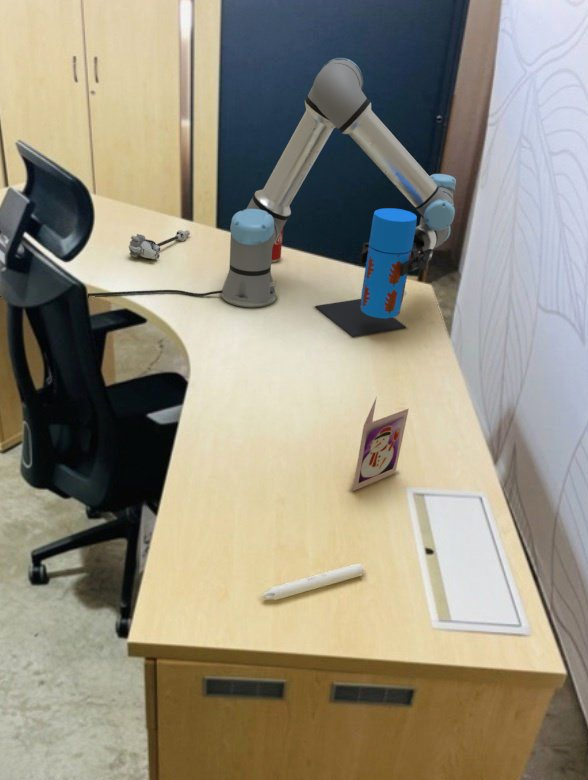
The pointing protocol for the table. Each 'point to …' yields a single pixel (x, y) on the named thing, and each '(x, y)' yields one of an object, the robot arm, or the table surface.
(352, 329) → the desk mat
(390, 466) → the greeting card
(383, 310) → the thermos
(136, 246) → the hammer
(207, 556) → the table surface
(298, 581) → the marker
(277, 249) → the beverage can
